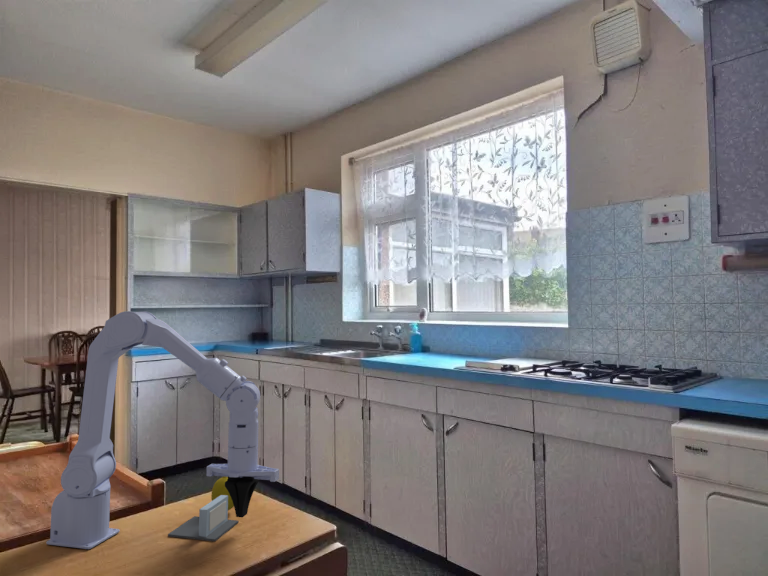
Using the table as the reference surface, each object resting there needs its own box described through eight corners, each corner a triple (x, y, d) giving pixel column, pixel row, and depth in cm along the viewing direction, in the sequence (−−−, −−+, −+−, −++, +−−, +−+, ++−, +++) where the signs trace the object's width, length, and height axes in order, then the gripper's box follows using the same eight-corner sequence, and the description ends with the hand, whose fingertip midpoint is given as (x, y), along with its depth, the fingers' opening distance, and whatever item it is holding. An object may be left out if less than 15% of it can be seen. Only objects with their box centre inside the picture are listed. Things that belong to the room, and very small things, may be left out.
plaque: (198, 535, 99) (199, 509, 99) (220, 519, 107) (221, 494, 107) (206, 536, 98) (207, 510, 99) (228, 520, 106) (228, 495, 106)
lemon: (233, 518, 108) (234, 479, 109) (207, 518, 108) (208, 479, 109) (241, 508, 114) (241, 471, 114) (215, 508, 114) (216, 471, 114)
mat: (167, 536, 99) (167, 534, 99) (194, 518, 108) (194, 516, 108) (215, 541, 97) (215, 539, 97) (238, 522, 106) (238, 520, 106)
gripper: (198, 447, 99) (196, 519, 99) (268, 452, 96) (267, 527, 96) (217, 439, 106) (216, 506, 106) (283, 443, 103) (282, 512, 103)
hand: (241, 515), depth 101 cm, fingers closed
